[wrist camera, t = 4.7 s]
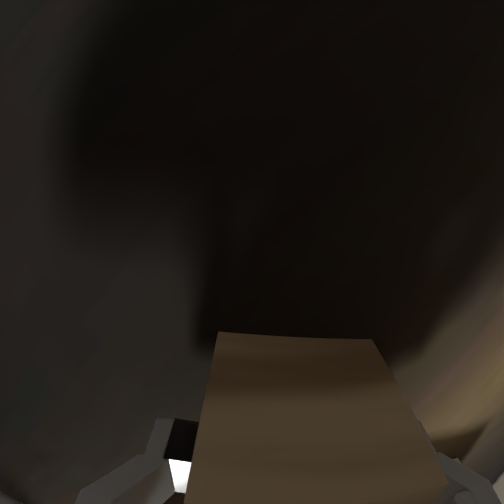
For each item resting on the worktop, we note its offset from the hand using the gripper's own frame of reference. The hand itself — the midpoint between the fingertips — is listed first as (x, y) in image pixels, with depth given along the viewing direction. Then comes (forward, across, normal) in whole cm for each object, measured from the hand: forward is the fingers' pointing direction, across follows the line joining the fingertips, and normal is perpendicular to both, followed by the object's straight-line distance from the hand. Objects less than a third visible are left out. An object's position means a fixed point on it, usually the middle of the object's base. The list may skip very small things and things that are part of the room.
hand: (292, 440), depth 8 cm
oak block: (+2, 0, 0) cm, 2 cm away
